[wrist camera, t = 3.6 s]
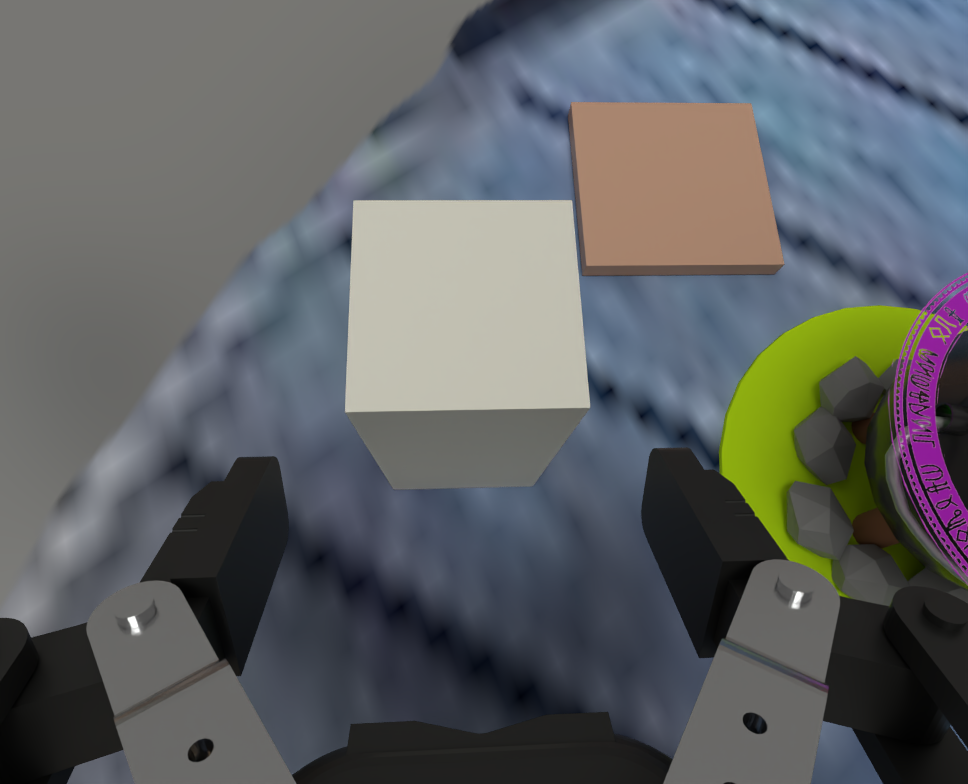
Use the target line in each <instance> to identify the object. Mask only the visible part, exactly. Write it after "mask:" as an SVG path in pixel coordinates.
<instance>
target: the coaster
mask: <svg viewBox="0 0 968 784" xmlns="http://www.w3.org/2000/svg"><path fill="white" fill-rule="evenodd" d="M568 122H569V133H570V144H571V155H572V166H573V177H574V188H575V199H576V210H577V221H578V232H579V243H580V254H581V265H582V276H613V275H748V274H775V273H776V272H777V271H778V270H779V269H780V268H781V267H782V266H783V265H784V260H783V255H782V250H781V246H780V241H779V236H778V231H777V226H776V221H775V216H774V212H773V207H772V202H771V197H770V192H769V187H768V183H767V178H766V173H765V168H764V163H763V158H762V153H761V149H760V144H759V139H758V134H757V129H756V124H755V119H754V115H753V110H752V105H751V103H601V102H571V105H570V109H569V114H568Z"/></svg>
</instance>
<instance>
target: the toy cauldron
mask: <svg viewBox="0 0 968 784" xmlns="http://www.w3.org/2000/svg"><path fill="white" fill-rule="evenodd" d="M966 275H968V273H966V274H964V275H962V276H960V277H959V278H957V279H956V280H954V281H953V282H951V283H949V284H948V285H947V286H945V288H943V289H942V290H941V291H939V292H938V294H936V295H935V296H934V297H933V298H932V299H931V300H930V301H929V302H928V303H927V305H926V306H925V307H924V308H923V310H922V311H920V310H917V309H910V308H900V307H890V306H880V305H878V306H866V307H854V308H844V309H841V310H837V311H834V312H831V313H827V314H824V315H820V316H817V317H813V318H811V319H809V320H807V321H806V322H804V323H802V324H800V325H798V326H796V327H794V328H793V329H791V330H789V331H787V332H785V333H783V334H782V335H781V336H779V337H778V338H777V339H776V340H775V341H774V342H773V343H772V344H770V345H769V346H768V347H767V348H766V349H765V350H764V351H763V352H761V353H760V354H759V355H758V356H757V357H756V359H755V360H754V362H753V363H752V364H751V366H750V367H749V369H748V370H747V372H746V373H745V374H744V376H743V377H742V379H741V380H740V381H739V383H738V385H737V388H736V390H735V393H734V395H733V397H732V400H731V402H730V405H729V407H728V410H727V412H726V415H725V420H724V426H723V431H722V437H721V443H720V449H719V463H720V474H721V475H722V476H724V477H725V478H727V479H728V480H729V481H731V482H732V483H734V485H735V486H736V487H737V489H738V490H739V492H740V493H741V494H742V496H743V497H744V499H745V503H748V504H749V506H750V507H751V508H752V510H753V511H754V513H755V517H756V516H757V517H758V518H759V520H760V521H761V522H762V524H763V525H764V526H765V528H766V529H767V531H768V532H769V533H770V535H771V536H772V538H773V539H774V540H775V542H776V543H777V545H778V546H779V547H780V549H781V550H782V552H783V553H784V554H785V556H786V557H787V559H788V560H789V561H793V562H796V563H800V564H802V565H805V566H807V567H809V568H811V569H813V570H815V571H817V572H818V573H820V574H821V575H823V576H824V577H825V578H826V579H828V580H829V581H830V583H831V584H832V585H833V586H834V587H835V589H836V590H837V592H838V594H839V596H843V597H847V598H851V599H856V600H861V601H866V602H871V603H876V604H881V605H886V606H890V603H891V601H892V599H893V596H894V594H895V593H896V592H897V591H898V590H899V589H902V588H904V587H908V586H923V587H929V588H933V589H937V590H940V591H943V592H946V593H949V594H951V595H953V596H955V597H957V598H959V599H961V600H963V601H965V602H966V603H968V326H965V325H966V324H967V323H968V303H967V302H966V300H965V298H964V293H965V294H966V292H967V291H968V287H966V288H965V289H963V290H961V291H960V292H958V293H957V294H956V295H954V297H952V298H951V299H950V300H949V301H947V303H945V304H944V305H943V307H941V308H940V310H939V311H938V312H937V313H936V314H931V313H932V312H933V310H934V309H935V308H936V307H937V306H938V305H939V304H940V303H941V302H942V301H943V300H944V299H945V298H946V297H947V296H948V295H950V294H951V293H952V292H954V291H955V290H956V289H958V288H959V287H961V286H962V285H964V284H966V283H967V282H968V278H965V279H966V280H965V281H964V282H963V281H960V282H961V284H956V287H952V286H951V288H952V290H950V291H948V290H947V293H946V294H943V293H942V292H943V291H944V290H945V289H946V288H947V287H949V286H950V285H952V284H953V283H954V282H956V281H958V280H959V279H961V278H962V277H965V276H966ZM940 293H942V295H943V297H942V298H939V297H938V299H939V301H938V302H936V301H934V303H935V305H934V306H933V305H932V306H930V307H931V310H926V312H924V311H925V309H926V308H927V307H928V306H929V304H930V303H931V302H932V301H933V300H934V299H935V298H936V297H937V296H938V295H939V294H940ZM965 297H966V299H967V300H968V297H967V295H966V296H965ZM945 307H948V308H949V309H950V310H951V311H954V310H956V311H955V312H954V313H955V314H956V315H957V316H958V317H959V318H961V319H962V320H964V321H963V322H962V324H961V323H960V322H959V321H957V320H956V319H955V318H954V317H952V316H950V317H949V316H948V315H949V314H948V313H947V312H946V311H945V309H944V308H945ZM946 310H947V311H948V312H950V311H949V310H948V309H946ZM950 313H951V312H950ZM953 316H955V315H954V314H953ZM955 317H956V316H955ZM956 318H957V317H956ZM957 319H958V318H957Z"/></svg>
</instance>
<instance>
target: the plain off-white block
mask: <svg viewBox="0 0 968 784" xmlns="http://www.w3.org/2000/svg"><path fill="white" fill-rule="evenodd" d="M589 409H590V399H589V388H588V377H587V365H586V354H585V343H584V332H583V320H582V309H581V298H580V286H579V275H578V264H577V252H576V241H575V230H574V218H573V207H572V200H424V201H354V205H353V229H352V254H351V278H350V302H349V327H348V351H347V376H346V400H345V413H346V414H347V416H348V418H349V419H350V421H351V422H352V424H353V426H354V427H355V429H356V430H357V432H358V434H359V435H360V437H361V438H362V440H363V442H364V443H365V445H366V446H367V448H368V449H369V451H370V453H371V454H372V456H373V457H374V459H375V461H376V462H377V464H378V465H379V467H380V469H381V470H382V472H383V473H384V475H385V477H386V478H387V480H388V481H389V483H390V484H391V486H392V488H393V489H394V490H403V489H444V488H485V487H527V486H533V485H534V484H535V483H536V481H537V480H538V478H539V477H540V476H541V474H542V473H543V472H544V470H545V469H546V468H547V466H548V465H549V463H550V462H551V461H552V459H553V458H554V457H555V455H556V454H557V452H558V451H559V450H560V448H561V447H562V446H563V444H564V443H565V442H566V440H567V439H568V437H569V436H570V435H571V433H572V432H573V431H574V429H575V428H576V426H577V425H578V424H579V422H580V421H581V420H582V418H583V417H584V416H585V414H586V413H587V411H588V410H589Z"/></svg>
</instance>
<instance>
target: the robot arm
mask: <svg viewBox="0 0 968 784" xmlns="http://www.w3.org/2000/svg"><path fill="white" fill-rule="evenodd" d="M641 516H642V525H643V530H644V533H645V536H646V538H647V541H648V543H649V545H650V547H651V550H652V552H653V554H654V556H655V559H656V561H657V563H658V566H659V568H660V570H661V572H662V575H663V577H664V579H665V581H666V584H667V586H668V588H669V591H670V593H671V595H672V597H673V600H674V602H675V604H676V606H677V609H678V611H679V613H680V616H681V618H682V620H683V622H684V625H685V627H686V629H687V631H688V634H689V636H690V638H691V640H692V643H693V645H694V647H695V650H696V652H697V654H698V656H699V658H711V657H714V659H713V661H712V664H711V666H710V669H709V671H708V674H707V676H706V679H705V681H704V684H703V686H702V689H701V691H700V694H699V696H698V699H697V701H696V704H695V706H694V708H693V711H692V713H691V716H690V718H689V721H688V723H687V726H686V728H685V731H684V733H683V736H682V738H681V741H680V743H679V746H678V748H677V751H676V753H675V756H674V758H673V760H672V759H671V758H670V757H668V756H667V755H665V754H663V753H662V752H660V751H658V750H656V749H655V748H653V747H651V746H649V745H646V744H644V743H642V742H640V741H638V740H635V739H632V738H628V737H625V736H622V735H618V734H614V733H613V730H612V726H611V722H610V718H609V714H608V712H596V713H575V714H554V715H544V716H541V717H537V718H534V719H531V720H528V721H524V722H521V723H518V724H515V725H511V726H508V727H505V728H502V729H498V730H495V731H492V732H489V733H484V734H477V733H471V732H466V731H461V730H457V729H452V728H447V727H442V726H437V725H432V724H427V723H422V722H417V721H405V722H384V723H363V724H351V726H350V733H349V740H348V746H347V747H344V748H341V749H337V750H335V751H333V752H330V753H328V754H326V755H324V756H321V757H320V758H318V759H316V760H314V761H313V762H311V763H309V764H307V765H306V766H304V767H303V768H302V769H300V770H299V771H297V772H296V773H295V774H293V775H291V773H290V771H289V770H288V768H287V766H286V764H285V762H284V761H283V759H282V757H281V755H280V754H279V752H278V750H277V748H276V746H275V745H274V743H273V741H272V739H271V737H270V736H269V734H268V732H267V730H266V729H265V727H264V725H263V723H262V721H261V720H260V718H259V716H258V714H257V713H256V711H255V709H254V707H253V705H252V704H251V702H250V700H249V698H248V697H247V695H246V693H245V691H244V689H243V688H242V686H241V684H240V682H239V681H238V679H237V677H236V676H241V674H242V672H243V669H244V666H245V663H246V660H247V657H248V654H249V651H250V648H251V645H252V643H253V640H254V637H255V634H256V631H257V628H258V625H259V622H260V619H261V616H262V614H263V611H264V608H265V605H266V602H267V599H268V596H269V593H270V590H271V587H272V585H273V582H274V579H275V576H276V573H277V570H278V567H279V564H280V561H281V558H282V556H283V553H284V550H285V547H286V544H287V539H288V529H289V520H288V512H287V506H286V500H285V494H284V489H283V483H282V477H281V471H280V466H279V462H278V460H277V458H276V457H274V456H272V457H239V458H237V459H236V461H235V463H234V464H233V466H232V468H231V470H230V472H229V473H228V475H227V477H226V479H225V481H217V482H210V483H209V484H208V485H207V486H205V487H204V488H203V489H202V490H200V491H199V492H198V493H197V494H195V495H194V496H193V497H192V498H191V499H190V501H189V503H188V504H187V506H186V508H185V509H184V511H183V513H182V514H181V518H179V519H178V521H177V522H176V524H175V526H174V527H173V529H172V530H173V531H172V533H170V534H169V535H168V537H167V539H166V540H165V542H164V544H163V545H162V547H161V549H160V550H159V552H158V553H157V555H156V557H155V558H154V560H153V562H152V563H151V565H150V566H149V568H148V570H147V571H146V573H145V575H144V576H143V578H142V580H141V581H140V583H137V584H134V585H131V586H128V587H126V588H123V589H121V590H119V591H117V592H116V593H114V594H112V595H111V596H109V597H108V598H107V599H105V600H104V601H103V602H102V603H101V604H100V605H99V606H97V608H96V609H95V610H94V611H93V613H92V614H91V616H90V617H89V620H88V622H87V623H84V624H81V625H77V626H74V627H70V628H66V629H62V630H59V631H55V632H51V633H47V634H44V635H40V636H36V637H32V638H31V637H30V635H29V632H28V630H27V628H26V627H25V625H24V624H23V623H22V622H20V621H18V620H15V619H11V618H0V784H67V782H68V780H69V777H70V775H71V773H72V771H73V769H74V767H75V766H76V765H79V764H82V763H85V762H88V761H91V760H94V759H97V758H100V757H103V756H106V755H109V754H112V753H115V752H118V751H121V750H124V752H125V755H126V758H127V761H128V764H129V767H130V770H131V773H132V776H133V779H134V782H135V784H811V779H812V774H813V769H814V763H815V758H816V753H817V748H818V742H819V737H820V732H821V727H822V722H823V721H826V722H830V723H834V724H838V725H842V726H846V727H850V728H852V729H853V731H854V733H855V734H856V736H857V738H858V740H859V742H860V743H861V745H862V747H863V749H864V750H865V752H866V754H867V756H868V757H869V759H870V761H871V763H872V765H873V766H874V768H875V770H876V772H877V773H878V775H879V777H880V779H881V780H882V782H883V784H968V751H967V750H966V748H965V747H964V746H963V744H962V743H961V741H960V740H959V739H958V737H957V736H956V734H955V733H954V732H953V730H952V729H951V728H950V725H952V727H953V728H954V730H955V731H956V732H957V734H958V735H959V737H960V738H961V739H962V741H963V742H964V743H965V745H966V746H967V748H968V603H966V602H965V601H963V600H961V599H959V598H957V597H955V596H953V595H951V594H949V593H946V592H943V591H940V590H937V589H933V588H929V587H923V586H908V587H904V588H902V589H899V590H898V591H897V592H896V593H895V594H894V596H893V599H892V601H891V603H890V606H886V605H881V604H876V603H871V602H866V601H861V600H856V599H851V598H847V597H843V596H839V594H838V592H837V590H836V589H835V587H834V586H833V585H832V584H831V583H830V581H829V580H828V579H826V578H825V577H824V576H823V575H821V574H820V573H818V572H817V571H815V570H813V569H811V568H809V567H807V566H805V565H802V564H800V563H796V562H793V561H789V560H788V559H787V557H786V556H785V554H784V553H783V552H782V550H781V549H780V547H779V546H778V545H777V543H776V542H775V540H774V539H773V538H772V536H771V535H770V533H769V532H768V531H767V529H766V528H765V526H764V525H763V524H762V522H761V521H760V520H759V518H758V517H757V516H756V517H755V513H754V511H753V510H752V508H751V507H750V506H749V504H748V503H745V499H744V497H743V496H742V494H741V493H740V492H739V490H738V489H737V487H736V486H735V485H734V483H732V482H731V481H729V480H728V479H727V478H725V477H724V476H722V475H721V474H720V473H718V472H717V471H715V470H704V469H703V467H702V466H701V464H700V463H699V461H698V460H697V458H696V457H695V455H694V454H693V452H692V451H691V450H690V449H689V448H654V449H652V451H651V453H650V456H649V462H648V468H647V475H646V481H645V488H644V494H643V501H642V509H641Z"/></svg>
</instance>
